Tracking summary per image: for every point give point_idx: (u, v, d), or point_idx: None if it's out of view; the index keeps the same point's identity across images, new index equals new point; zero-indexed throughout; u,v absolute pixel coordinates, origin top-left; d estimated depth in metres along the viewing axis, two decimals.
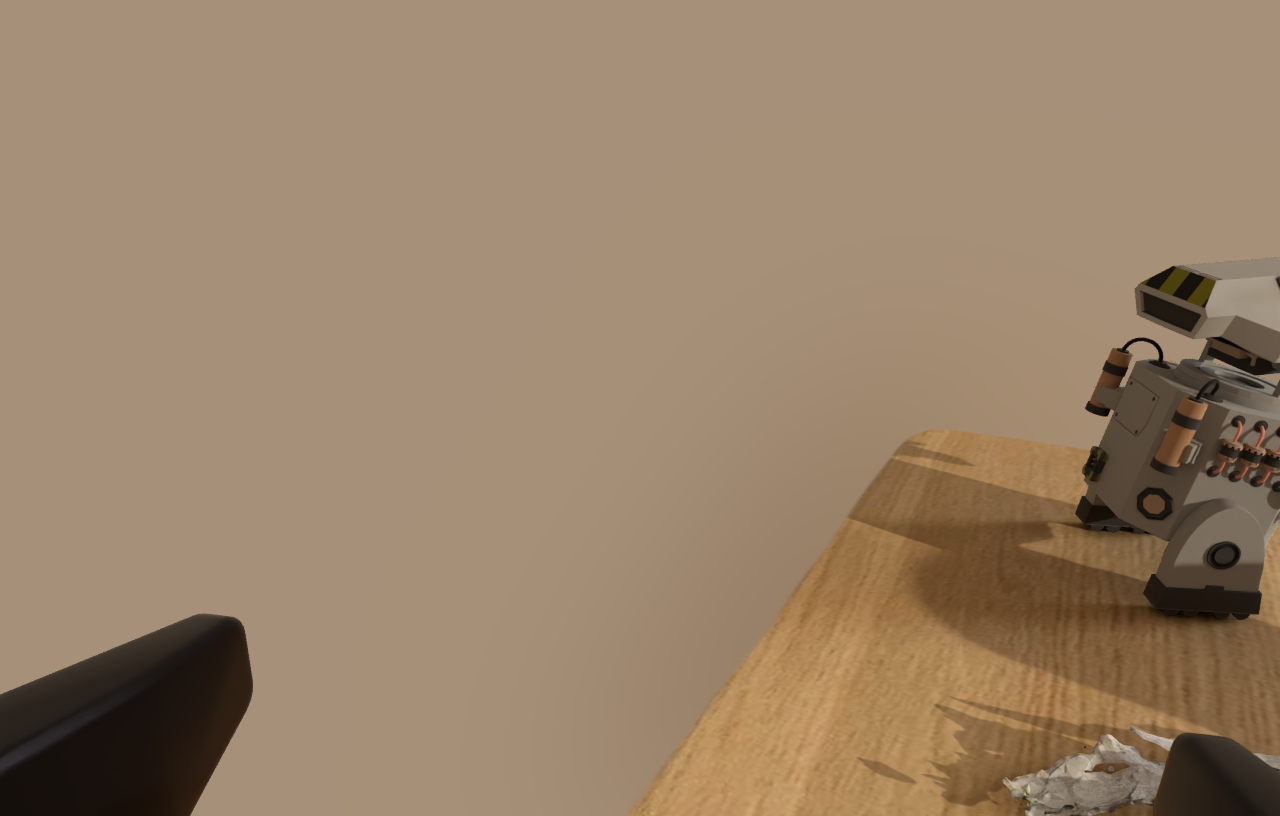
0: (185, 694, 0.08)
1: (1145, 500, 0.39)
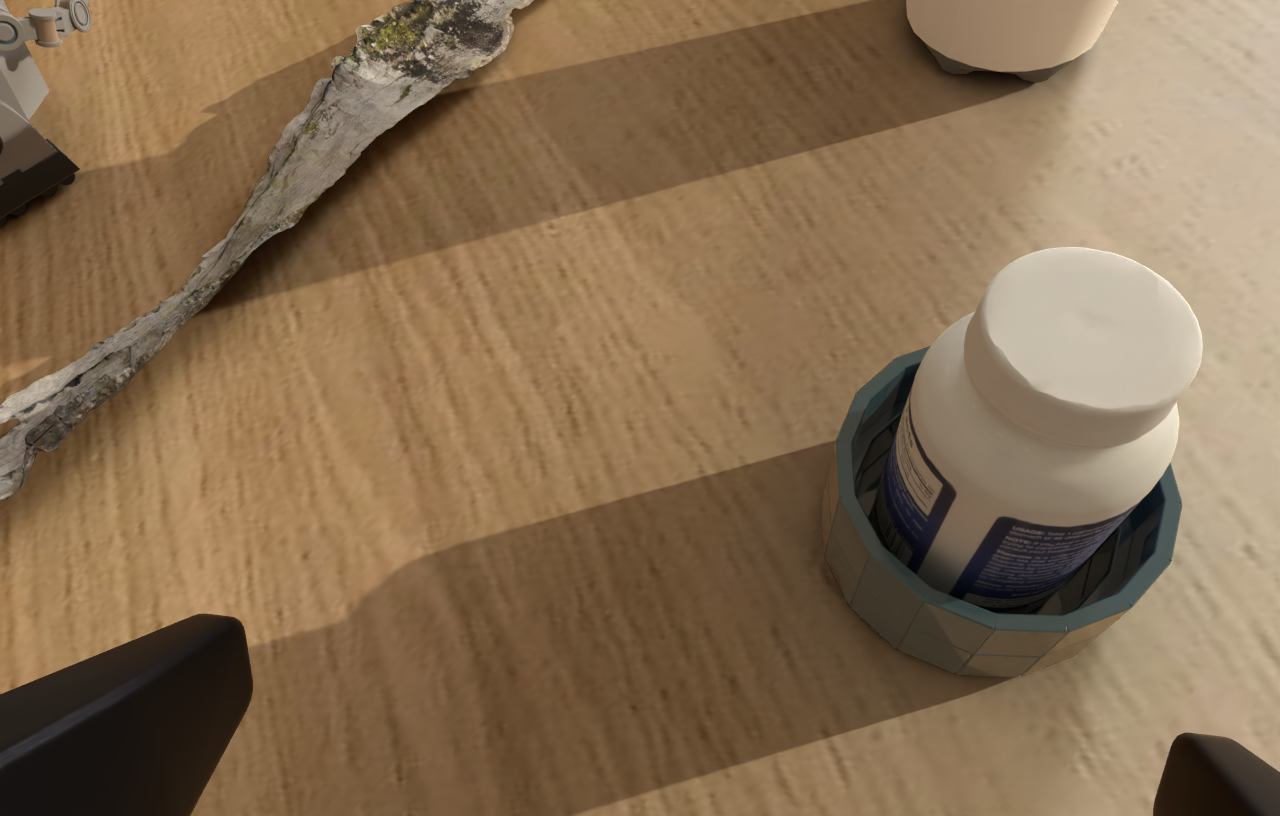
0: (185, 694, 0.08)
1: None
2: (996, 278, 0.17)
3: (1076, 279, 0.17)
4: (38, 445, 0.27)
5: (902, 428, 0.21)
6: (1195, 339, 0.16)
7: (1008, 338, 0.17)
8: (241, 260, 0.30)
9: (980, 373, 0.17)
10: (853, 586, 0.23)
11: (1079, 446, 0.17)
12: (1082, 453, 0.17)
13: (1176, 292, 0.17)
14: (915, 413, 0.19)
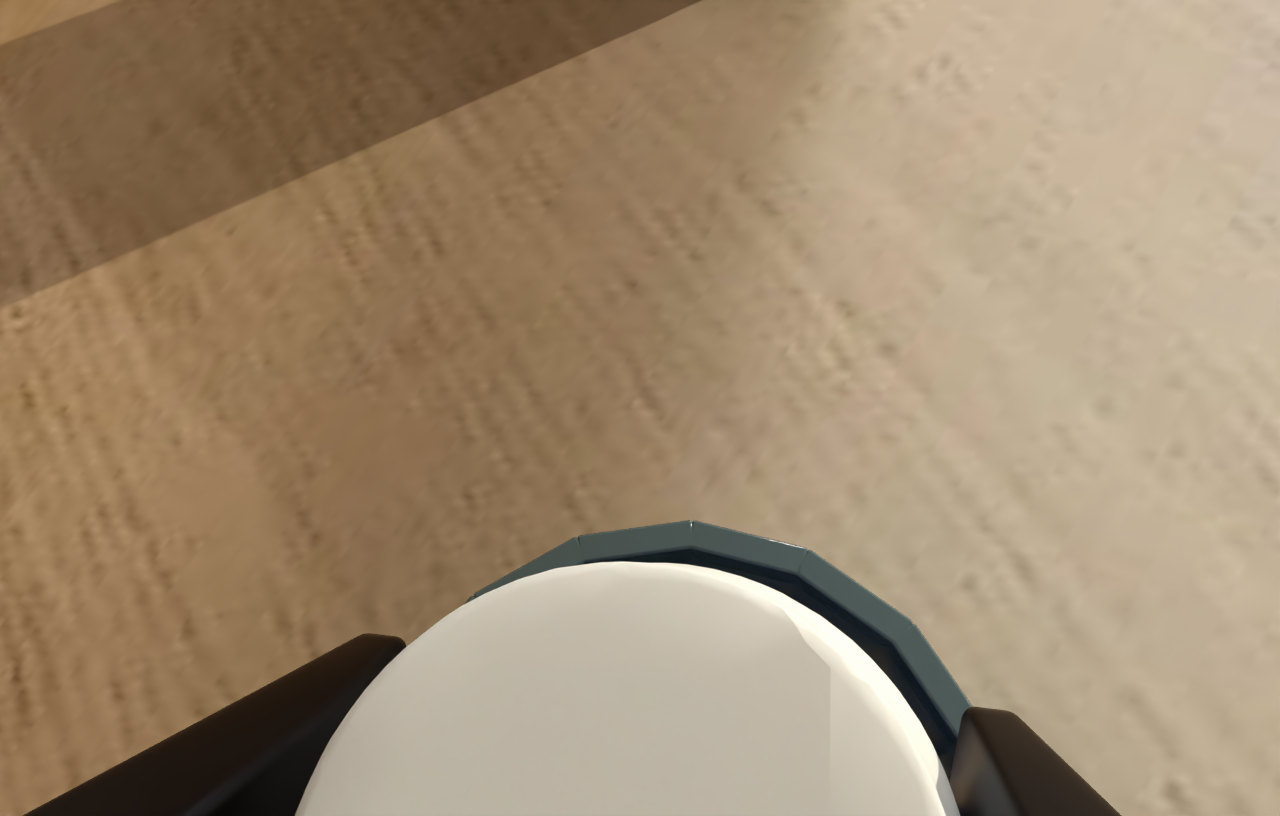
0: None
1: None
2: (343, 729, 0.05)
3: (583, 705, 0.05)
4: None
5: None
6: None
7: None
8: None
9: None
10: None
11: None
12: None
13: (887, 723, 0.05)
14: None
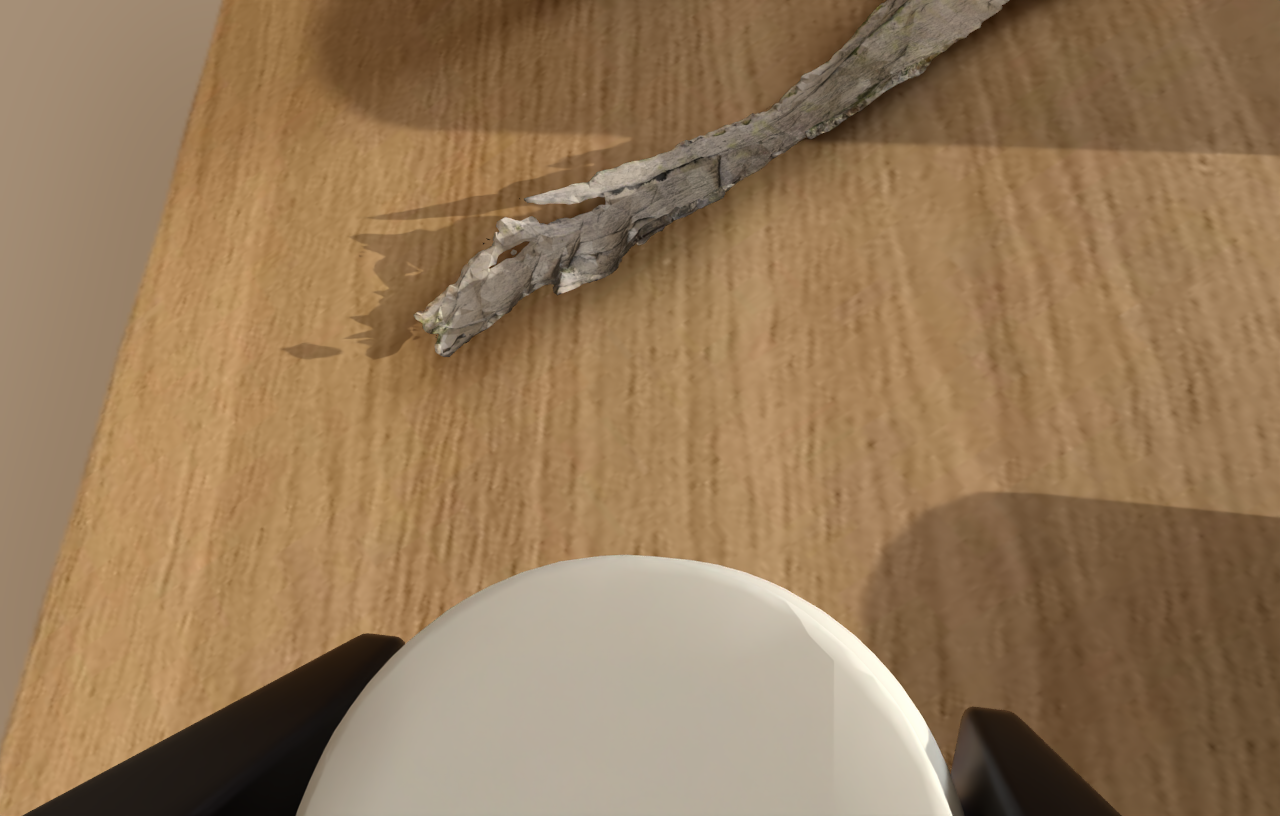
0: None
1: None
2: (347, 722, 0.05)
3: (586, 698, 0.05)
4: None
5: None
6: None
7: None
8: (868, 100, 0.27)
9: None
10: None
11: None
12: None
13: (890, 715, 0.05)
14: None
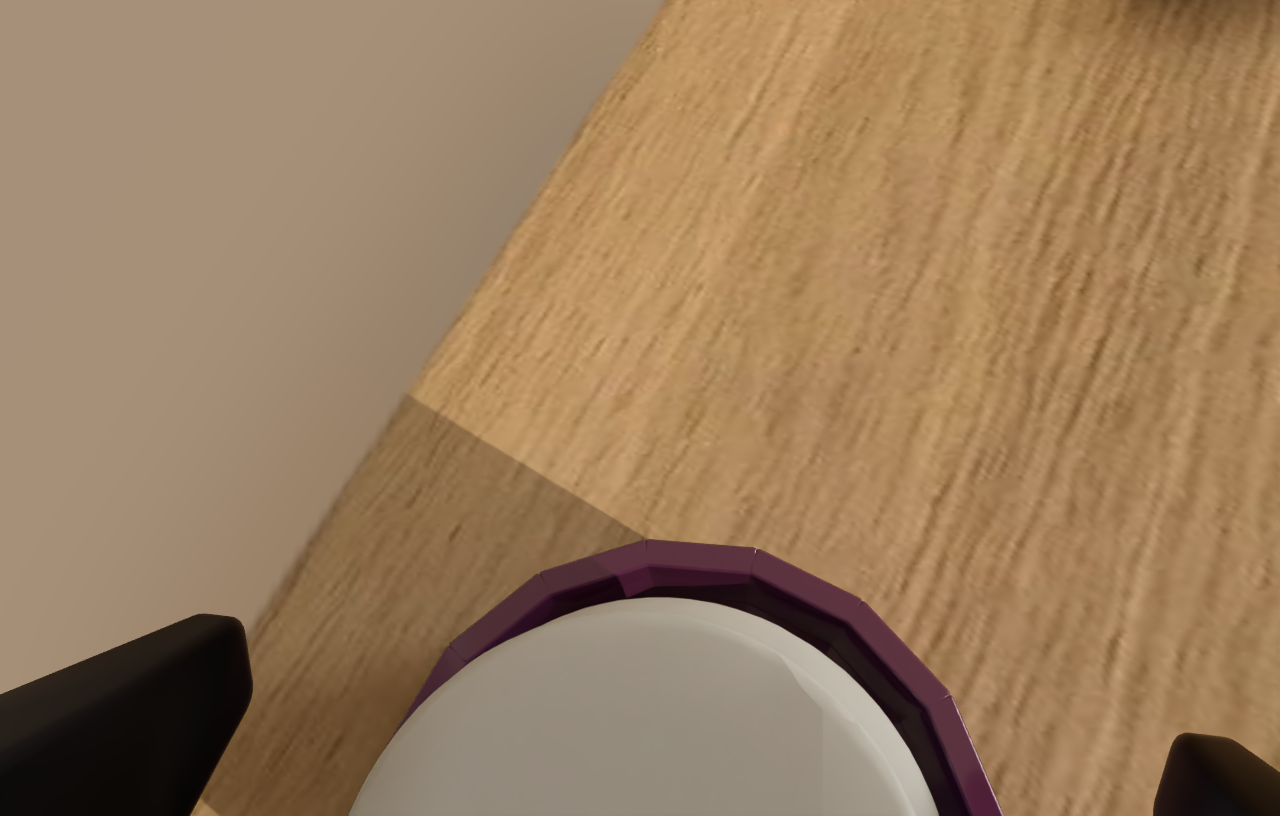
0: (185, 694, 0.08)
1: None
2: (379, 768, 0.06)
3: (598, 745, 0.06)
4: None
5: None
6: None
7: None
8: None
9: None
10: None
11: None
12: None
13: (874, 761, 0.06)
14: None
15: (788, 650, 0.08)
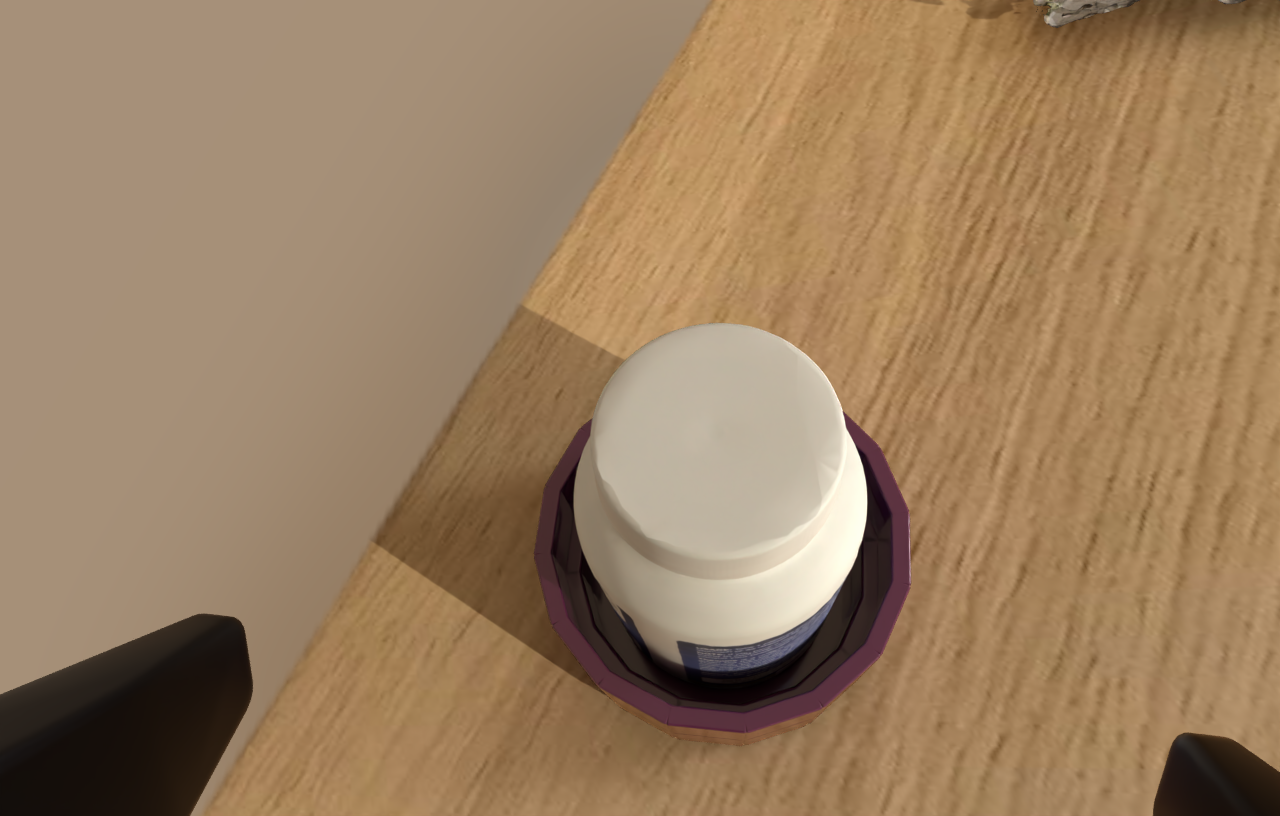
0: (185, 695, 0.08)
1: None
2: (610, 383, 0.14)
3: (703, 371, 0.14)
4: None
5: None
6: (837, 436, 0.13)
7: (620, 468, 0.14)
8: None
9: (604, 504, 0.14)
10: None
11: None
12: None
13: (818, 372, 0.14)
14: None
15: None
